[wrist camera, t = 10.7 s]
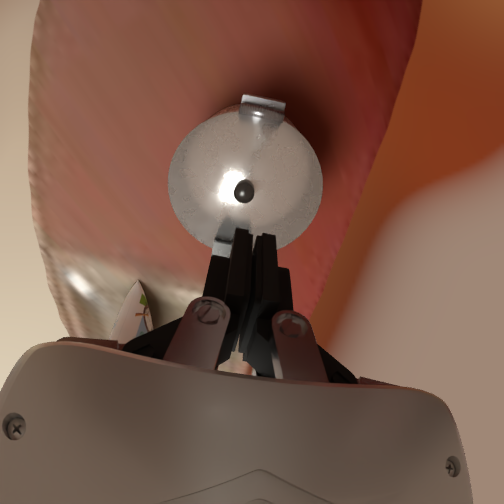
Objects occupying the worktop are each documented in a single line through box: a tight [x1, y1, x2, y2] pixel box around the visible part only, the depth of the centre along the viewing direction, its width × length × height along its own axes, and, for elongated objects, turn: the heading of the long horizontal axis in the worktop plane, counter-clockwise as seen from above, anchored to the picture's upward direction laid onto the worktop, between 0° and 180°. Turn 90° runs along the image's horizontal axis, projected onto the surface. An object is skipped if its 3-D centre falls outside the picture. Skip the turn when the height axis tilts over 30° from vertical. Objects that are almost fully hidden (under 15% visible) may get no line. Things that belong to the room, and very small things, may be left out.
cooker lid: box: [168, 103, 323, 258], centre depth 37 cm, size 26×19×3 cm
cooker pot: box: [209, 93, 297, 129], centre depth 44 cm, size 27×18×12 cm, turn 168°
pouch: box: [109, 280, 153, 344], centre depth 60 cm, size 8×19×20 cm, turn 170°
